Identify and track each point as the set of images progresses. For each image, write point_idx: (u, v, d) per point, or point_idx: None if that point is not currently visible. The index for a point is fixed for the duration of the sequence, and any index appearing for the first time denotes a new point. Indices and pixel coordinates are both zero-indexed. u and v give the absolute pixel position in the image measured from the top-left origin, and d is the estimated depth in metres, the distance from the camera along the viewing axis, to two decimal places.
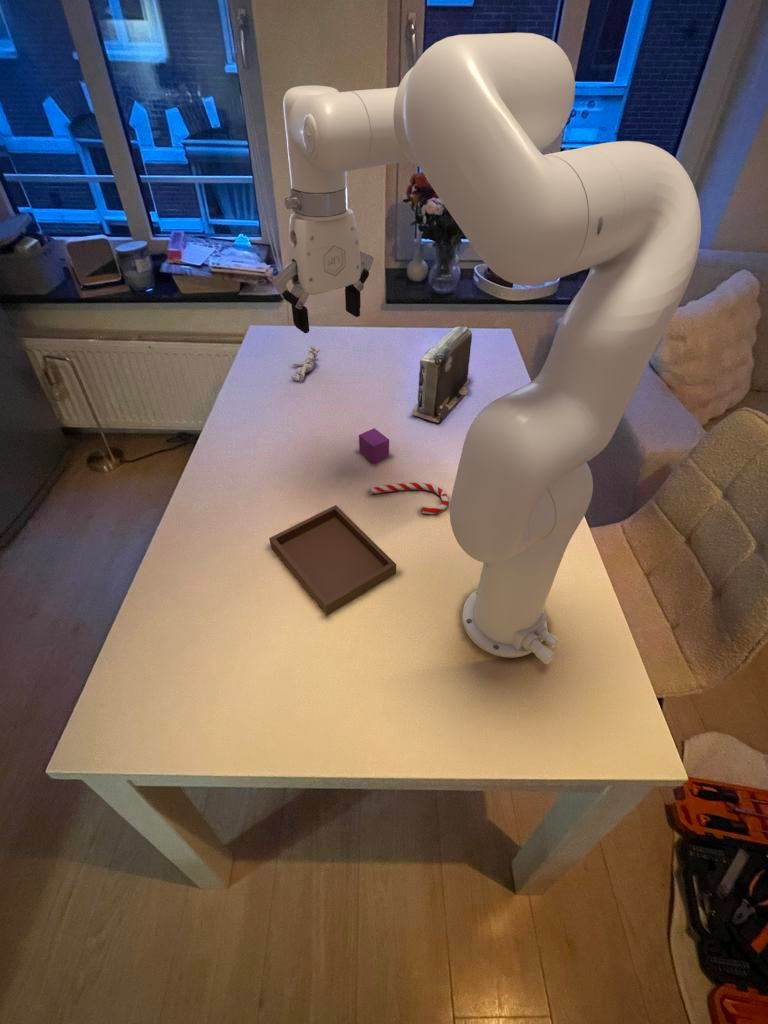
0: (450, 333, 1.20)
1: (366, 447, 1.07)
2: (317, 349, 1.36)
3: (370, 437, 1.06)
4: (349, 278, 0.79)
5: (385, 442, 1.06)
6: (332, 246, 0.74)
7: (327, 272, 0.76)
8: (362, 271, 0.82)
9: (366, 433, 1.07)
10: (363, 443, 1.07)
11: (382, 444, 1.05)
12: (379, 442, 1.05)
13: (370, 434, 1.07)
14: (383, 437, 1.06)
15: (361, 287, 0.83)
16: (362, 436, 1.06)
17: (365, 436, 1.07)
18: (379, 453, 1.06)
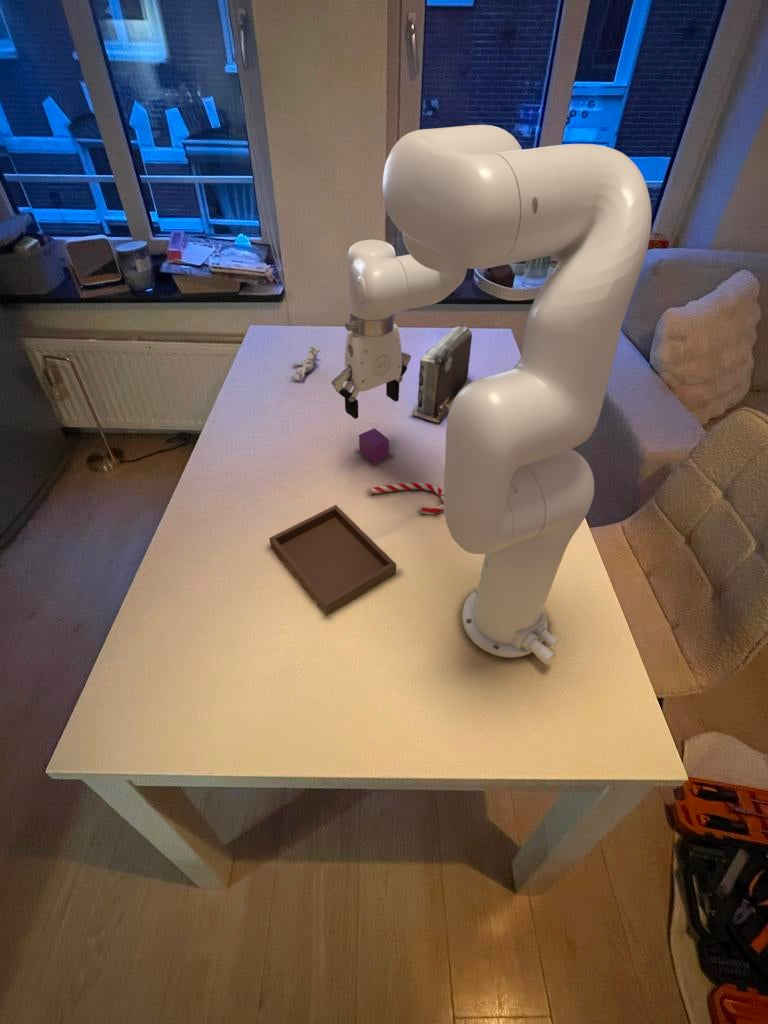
0: (450, 333, 1.20)
1: (366, 447, 1.07)
2: (317, 349, 1.36)
3: (370, 437, 1.06)
4: (392, 376, 0.96)
5: (385, 442, 1.06)
6: (380, 354, 0.91)
7: (375, 374, 0.93)
8: (401, 366, 1.00)
9: (366, 433, 1.07)
10: (363, 443, 1.07)
11: (382, 444, 1.05)
12: (379, 442, 1.05)
13: (370, 434, 1.07)
14: (383, 437, 1.06)
15: (400, 379, 1.00)
16: (362, 436, 1.06)
17: (365, 436, 1.07)
18: (379, 453, 1.06)
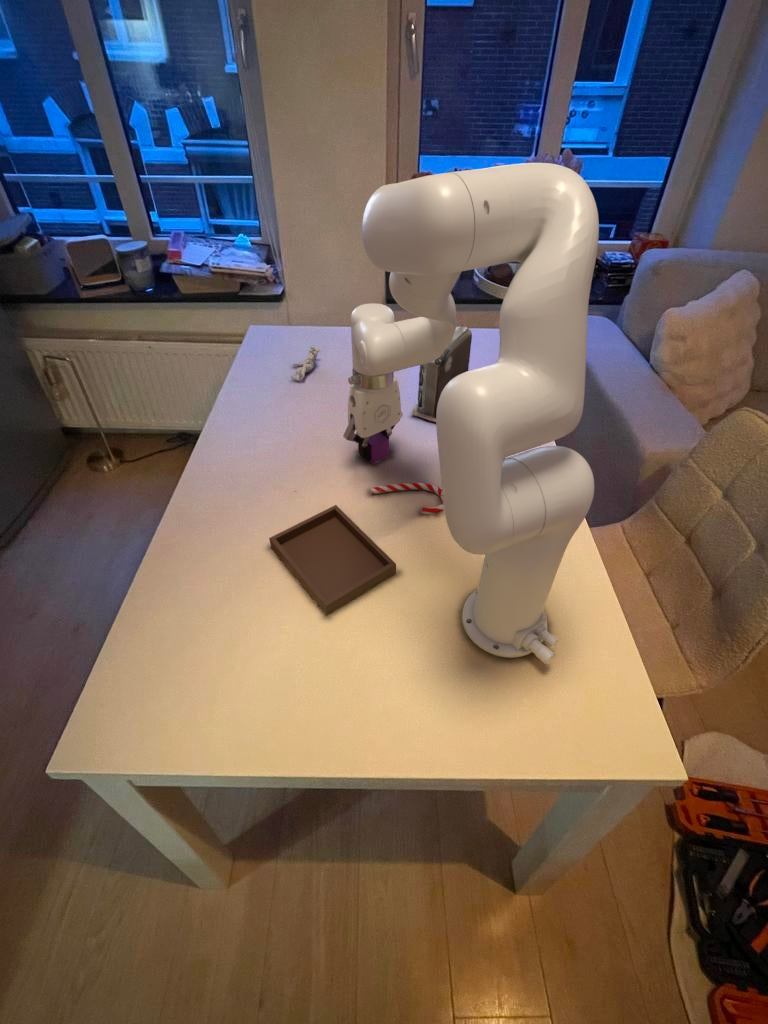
0: None
1: None
2: (317, 349, 1.36)
3: (370, 437, 1.06)
4: (392, 422, 1.03)
5: (385, 442, 1.06)
6: (381, 405, 0.98)
7: (376, 422, 1.00)
8: None
9: None
10: None
11: (382, 444, 1.05)
12: (379, 442, 1.05)
13: None
14: (383, 437, 1.06)
15: (390, 433, 1.07)
16: None
17: None
18: (379, 453, 1.06)
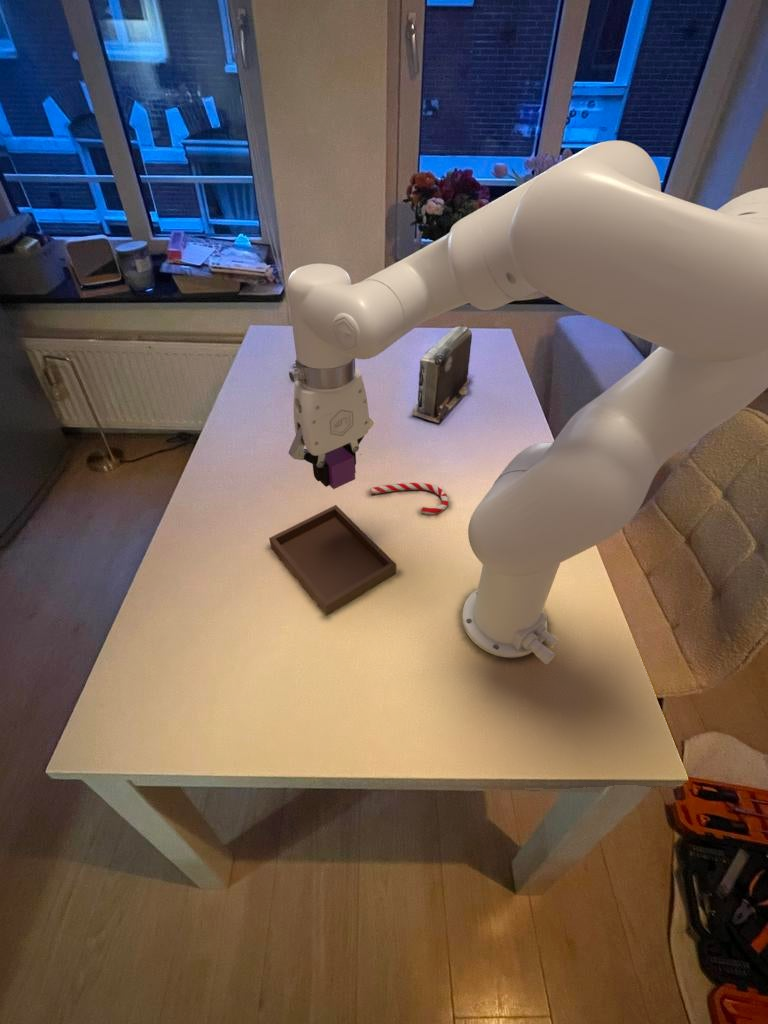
0: (450, 333, 1.20)
1: None
2: None
3: (329, 453, 0.78)
4: (357, 434, 0.75)
5: (348, 460, 0.78)
6: (339, 410, 0.70)
7: (334, 434, 0.72)
8: None
9: None
10: None
11: (344, 463, 0.77)
12: (340, 460, 0.77)
13: None
14: (346, 453, 0.78)
15: (356, 448, 0.79)
16: None
17: None
18: (341, 475, 0.78)
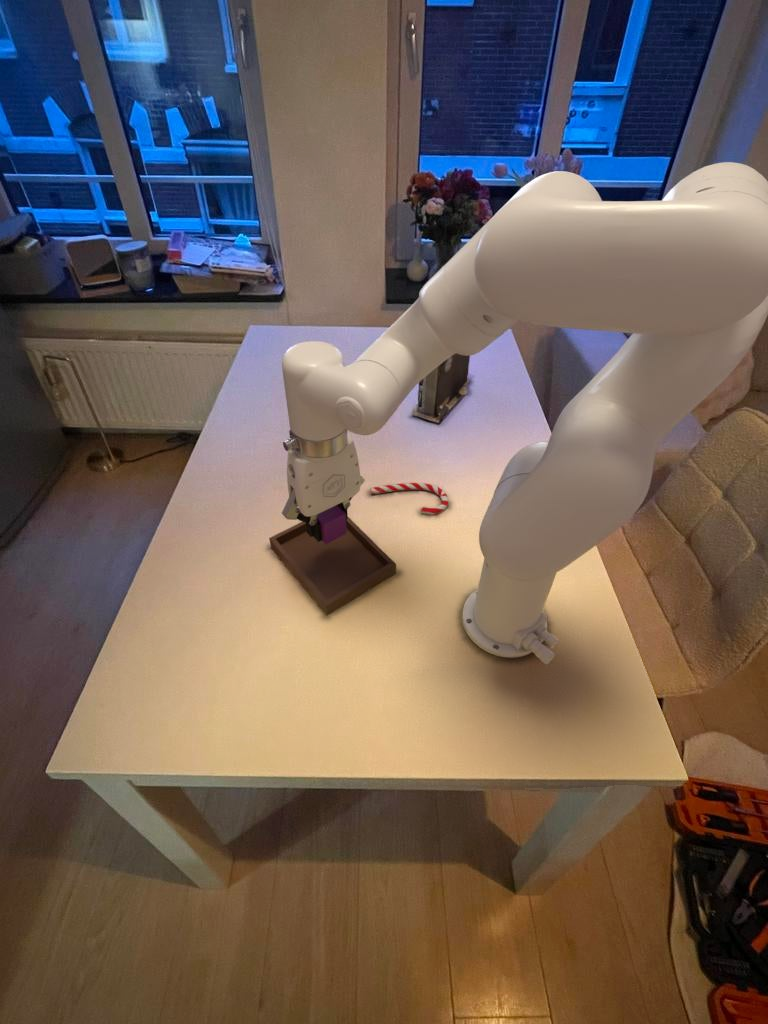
0: None
1: None
2: None
3: None
4: (349, 494, 0.77)
5: (340, 517, 0.80)
6: (331, 475, 0.72)
7: (326, 496, 0.74)
8: None
9: None
10: None
11: (336, 521, 0.80)
12: (332, 518, 0.79)
13: None
14: (338, 510, 0.80)
15: (348, 504, 0.81)
16: None
17: None
18: (333, 531, 0.81)
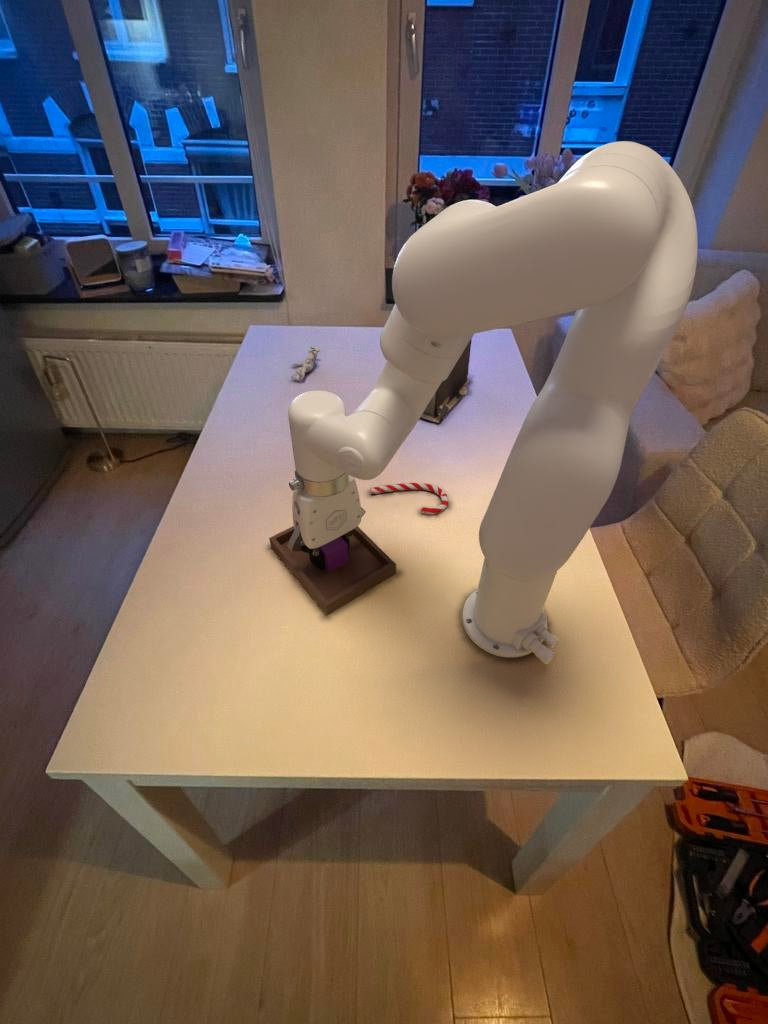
0: None
1: None
2: (317, 349, 1.36)
3: None
4: (350, 526, 0.82)
5: (342, 548, 0.84)
6: (334, 510, 0.77)
7: (329, 530, 0.79)
8: None
9: None
10: None
11: (339, 551, 0.84)
12: (335, 548, 0.84)
13: None
14: (340, 540, 0.85)
15: (350, 535, 0.86)
16: None
17: None
18: (335, 560, 0.85)
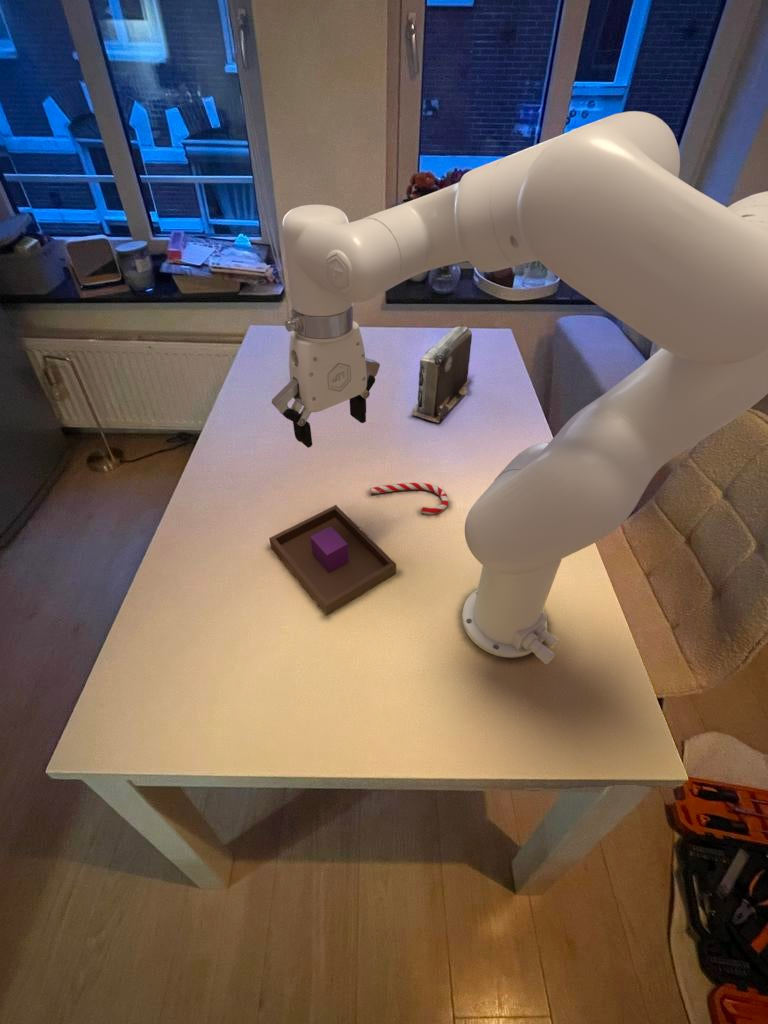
0: (450, 333, 1.20)
1: (319, 552, 0.85)
2: None
3: (324, 540, 0.85)
4: (355, 391, 0.73)
5: (342, 547, 0.84)
6: (336, 363, 0.68)
7: (331, 389, 0.70)
8: (368, 378, 0.76)
9: (320, 534, 0.86)
10: (316, 547, 0.86)
11: (339, 550, 0.84)
12: (335, 548, 0.84)
13: (324, 536, 0.86)
14: (340, 540, 0.85)
15: (367, 394, 0.77)
16: (314, 539, 0.85)
17: (318, 538, 0.85)
18: (335, 560, 0.85)
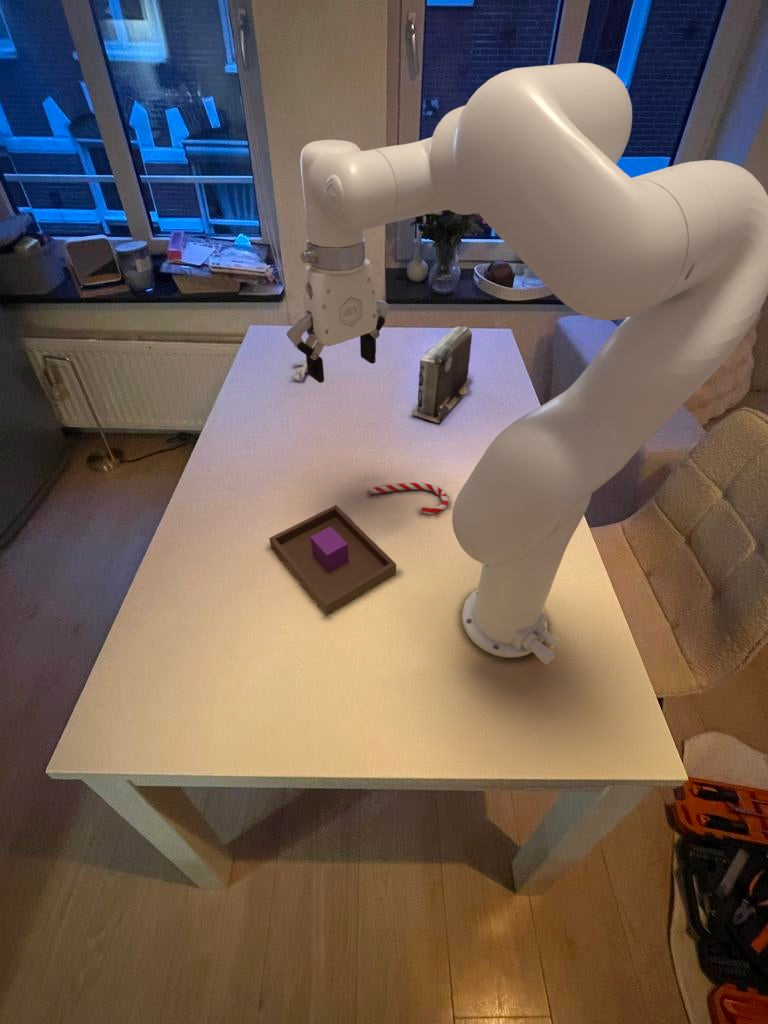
0: (450, 333, 1.20)
1: (319, 552, 0.85)
2: None
3: (324, 540, 0.85)
4: (365, 328, 0.77)
5: (342, 547, 0.84)
6: (348, 297, 0.72)
7: (343, 323, 0.74)
8: (378, 318, 0.80)
9: (320, 534, 0.86)
10: (316, 547, 0.86)
11: (339, 550, 0.84)
12: (335, 548, 0.84)
13: (324, 536, 0.86)
14: (340, 540, 0.85)
15: (377, 334, 0.81)
16: (314, 539, 0.85)
17: (318, 538, 0.85)
18: (335, 560, 0.85)
